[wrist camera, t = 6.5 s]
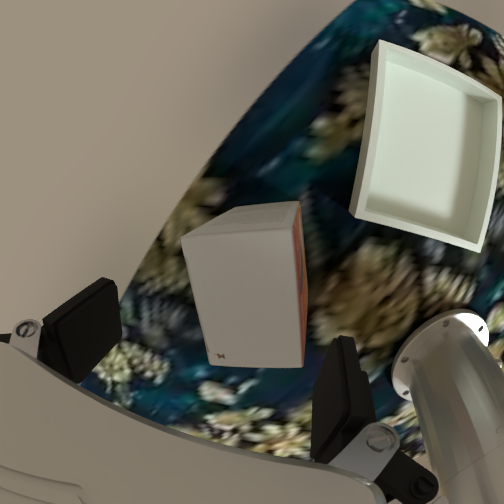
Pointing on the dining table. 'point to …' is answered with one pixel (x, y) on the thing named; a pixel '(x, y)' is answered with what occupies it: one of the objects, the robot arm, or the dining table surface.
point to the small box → (251, 285)
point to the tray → (427, 149)
